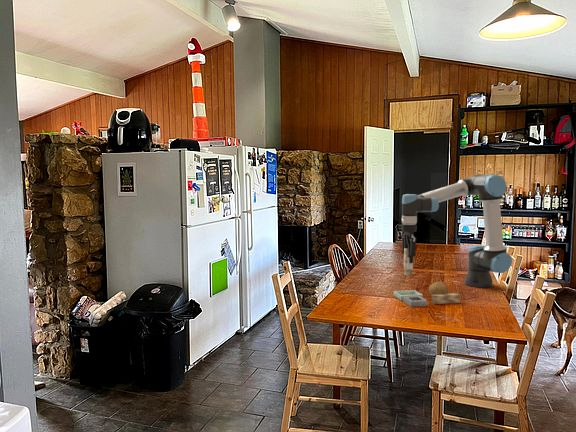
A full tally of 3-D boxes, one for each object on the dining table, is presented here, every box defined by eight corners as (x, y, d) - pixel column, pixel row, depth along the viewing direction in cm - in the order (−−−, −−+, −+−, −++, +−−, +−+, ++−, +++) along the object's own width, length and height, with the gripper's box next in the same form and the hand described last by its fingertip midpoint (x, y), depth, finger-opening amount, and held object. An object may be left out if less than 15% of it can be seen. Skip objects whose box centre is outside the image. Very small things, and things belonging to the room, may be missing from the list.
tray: (414, 294, 246) (414, 290, 246) (422, 299, 236) (422, 294, 236) (393, 295, 244) (393, 291, 244) (401, 300, 234) (401, 296, 234)
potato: (426, 300, 234) (427, 285, 233) (430, 294, 247) (430, 279, 246) (446, 303, 230) (447, 287, 229) (449, 296, 243) (449, 281, 242)
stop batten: (456, 300, 234) (457, 293, 233) (460, 302, 231) (460, 294, 230) (431, 302, 231) (431, 294, 231) (434, 304, 228) (434, 296, 228)
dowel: (409, 273, 241) (410, 247, 240) (413, 275, 237) (413, 249, 236) (402, 274, 241) (403, 248, 239) (405, 275, 237) (406, 249, 235)
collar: (419, 300, 234) (419, 295, 234) (427, 305, 226) (427, 300, 225) (403, 301, 233) (403, 296, 233) (410, 306, 224) (410, 301, 224)
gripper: (395, 222, 244) (395, 265, 246) (409, 225, 228) (408, 271, 230) (408, 221, 245) (408, 264, 248) (423, 225, 229) (422, 271, 231)
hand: (408, 268), depth 239 cm, fingers closed on dowel, 4 cm apart
